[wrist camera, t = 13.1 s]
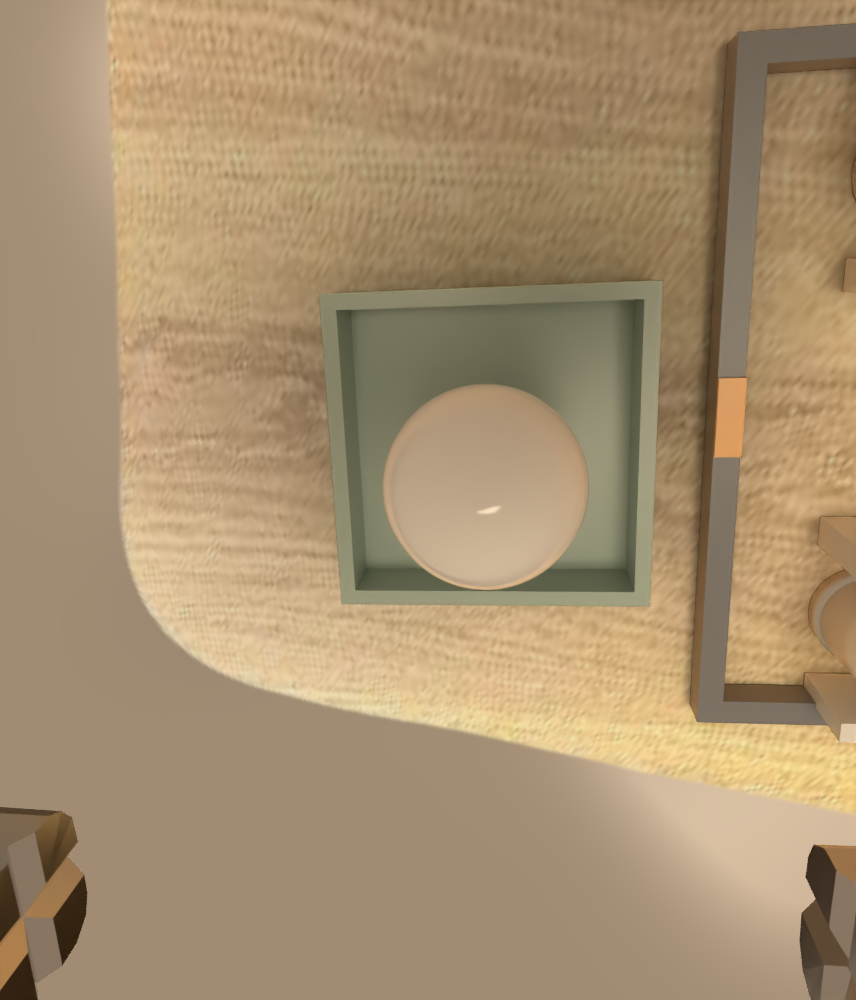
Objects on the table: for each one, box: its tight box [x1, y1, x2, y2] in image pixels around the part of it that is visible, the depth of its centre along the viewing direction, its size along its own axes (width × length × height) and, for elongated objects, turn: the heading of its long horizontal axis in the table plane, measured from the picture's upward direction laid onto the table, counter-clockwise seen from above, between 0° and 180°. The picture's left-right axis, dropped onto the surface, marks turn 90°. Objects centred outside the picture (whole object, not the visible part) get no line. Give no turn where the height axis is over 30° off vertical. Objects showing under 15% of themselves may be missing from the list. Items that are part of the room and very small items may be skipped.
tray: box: [319, 280, 663, 607], centre depth 31 cm, size 12×12×3 cm
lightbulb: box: [382, 384, 589, 590], centre depth 27 cm, size 6×6×11 cm
